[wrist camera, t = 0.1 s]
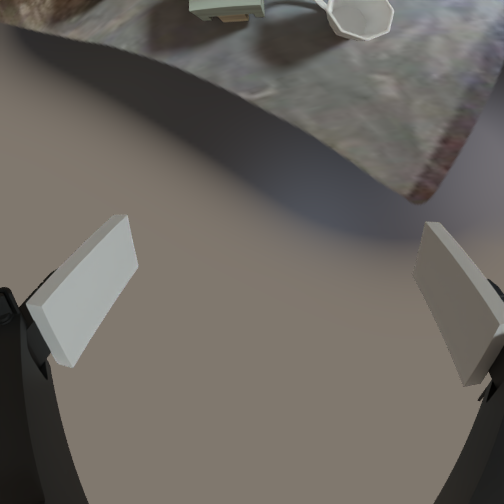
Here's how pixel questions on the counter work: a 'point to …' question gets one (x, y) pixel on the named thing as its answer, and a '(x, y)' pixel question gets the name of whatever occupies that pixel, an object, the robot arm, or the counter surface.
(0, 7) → the counter surface
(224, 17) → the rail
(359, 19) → the cup
